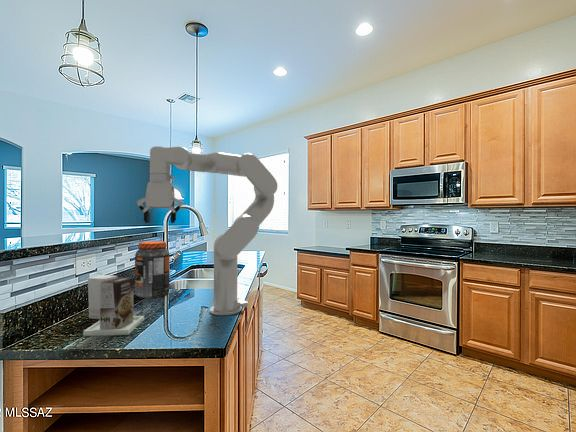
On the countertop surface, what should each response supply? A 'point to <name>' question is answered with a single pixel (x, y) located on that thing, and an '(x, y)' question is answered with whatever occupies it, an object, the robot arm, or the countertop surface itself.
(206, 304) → the countertop surface
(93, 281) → the skincare box
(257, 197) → the robot arm
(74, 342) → the countertop surface
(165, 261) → the supplement tub
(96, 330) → the tray
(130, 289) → the coffee box
